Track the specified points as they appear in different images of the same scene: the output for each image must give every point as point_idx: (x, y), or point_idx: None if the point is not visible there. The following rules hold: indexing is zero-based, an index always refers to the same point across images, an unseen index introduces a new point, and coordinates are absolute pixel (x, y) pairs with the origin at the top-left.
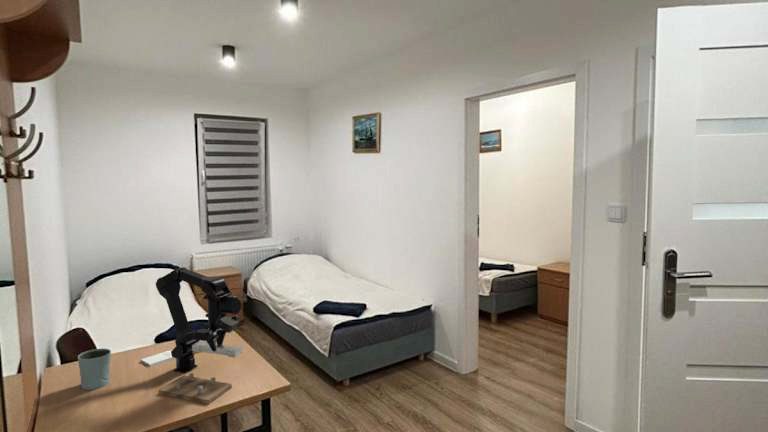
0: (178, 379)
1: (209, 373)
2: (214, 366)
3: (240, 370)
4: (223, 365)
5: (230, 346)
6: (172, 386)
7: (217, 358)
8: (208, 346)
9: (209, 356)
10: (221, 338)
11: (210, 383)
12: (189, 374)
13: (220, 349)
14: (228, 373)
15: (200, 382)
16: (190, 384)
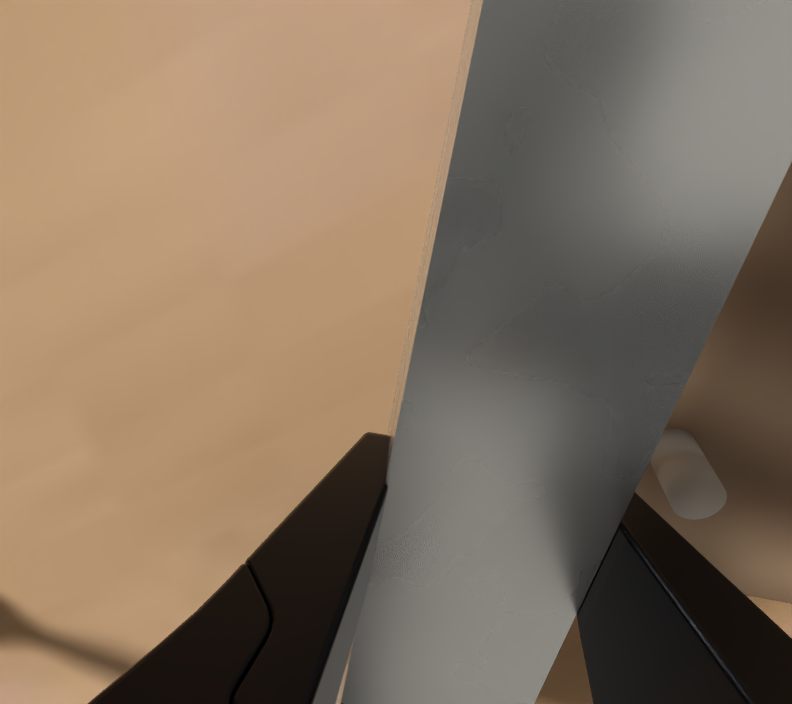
0: None
1: (398, 367)
2: (234, 392)
3: (242, 10)
4: (182, 312)
5: (506, 99)
6: (787, 546)
7: (62, 444)
8: (540, 687)
9: (59, 525)
10: (332, 659)
11: (775, 205)
12: (702, 513)
13: (663, 370)
14: (362, 147)
15: (731, 338)
16: (767, 417)
